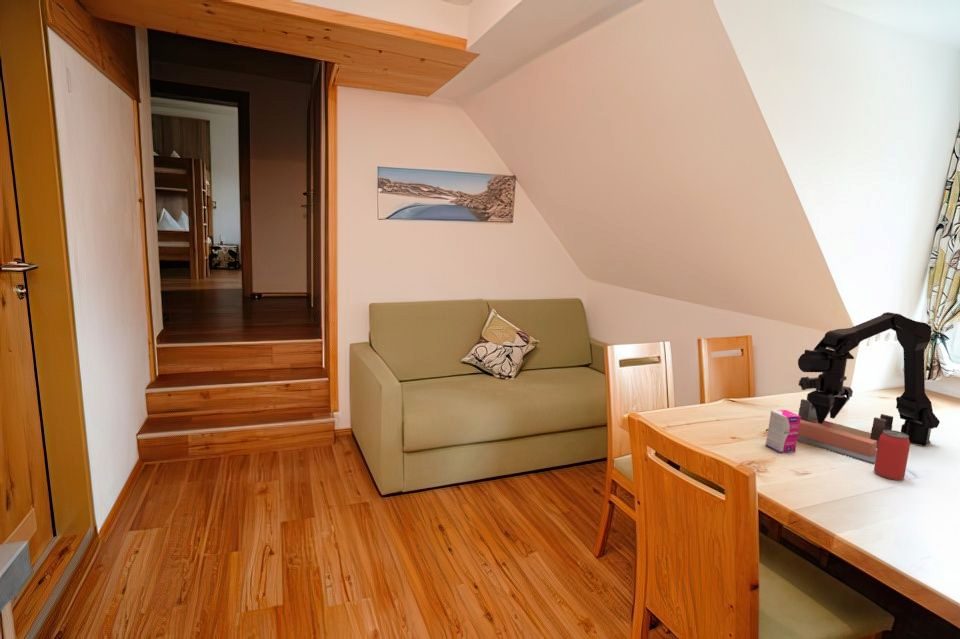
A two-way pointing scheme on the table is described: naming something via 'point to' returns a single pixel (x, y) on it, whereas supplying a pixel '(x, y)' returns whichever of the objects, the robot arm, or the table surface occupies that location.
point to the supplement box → (783, 431)
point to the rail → (838, 438)
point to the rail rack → (879, 425)
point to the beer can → (892, 454)
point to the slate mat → (837, 449)
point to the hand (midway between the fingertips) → (826, 420)
